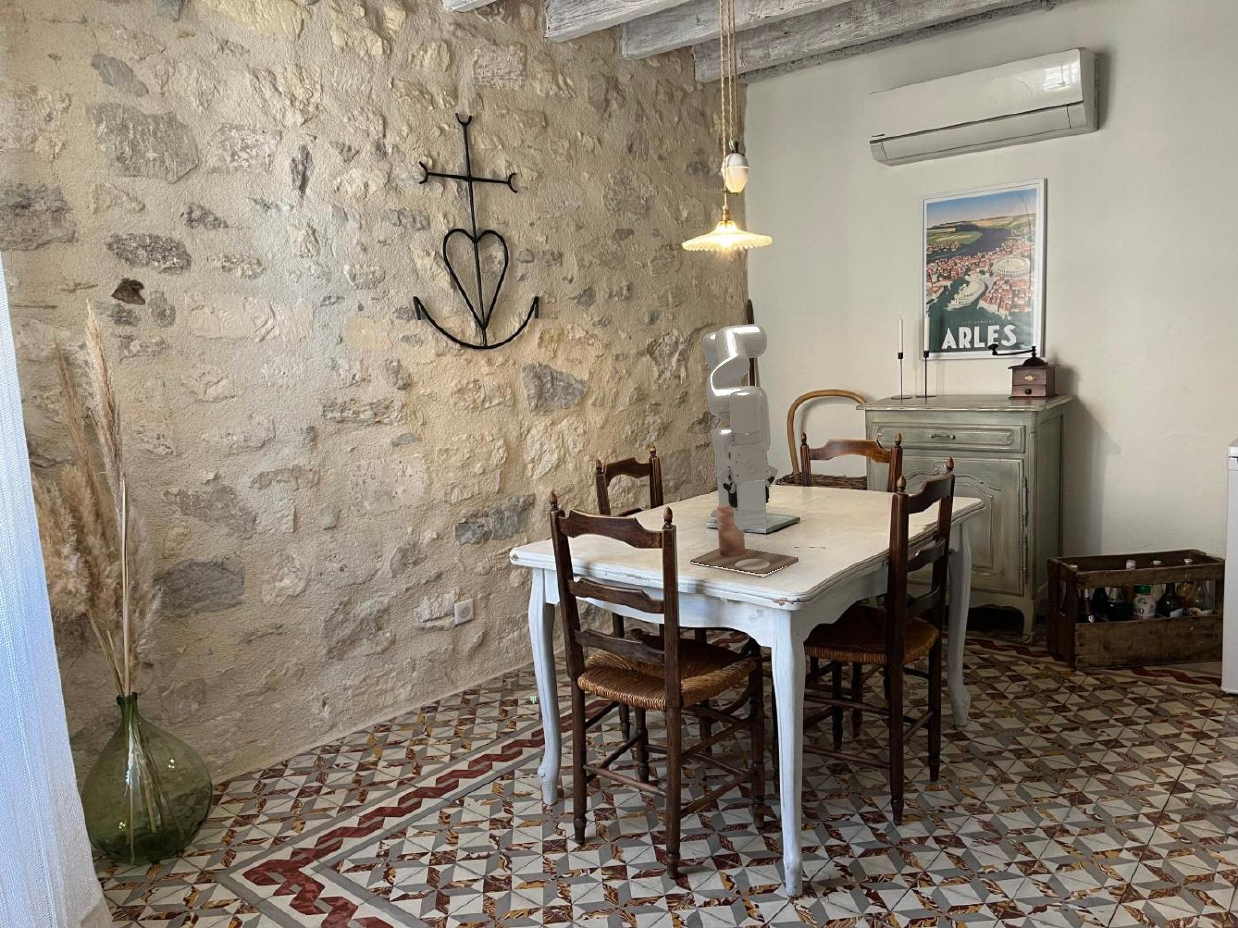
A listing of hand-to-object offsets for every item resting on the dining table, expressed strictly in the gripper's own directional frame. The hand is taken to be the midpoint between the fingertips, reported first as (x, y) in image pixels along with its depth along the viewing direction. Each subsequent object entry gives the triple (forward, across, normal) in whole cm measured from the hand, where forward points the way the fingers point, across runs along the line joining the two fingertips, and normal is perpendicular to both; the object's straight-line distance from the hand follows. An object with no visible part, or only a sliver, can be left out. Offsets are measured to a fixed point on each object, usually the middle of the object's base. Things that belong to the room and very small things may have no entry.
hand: (749, 504), depth 244 cm
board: (+17, 0, +6) cm, 18 cm away
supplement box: (+6, 0, 0) cm, 6 cm away
